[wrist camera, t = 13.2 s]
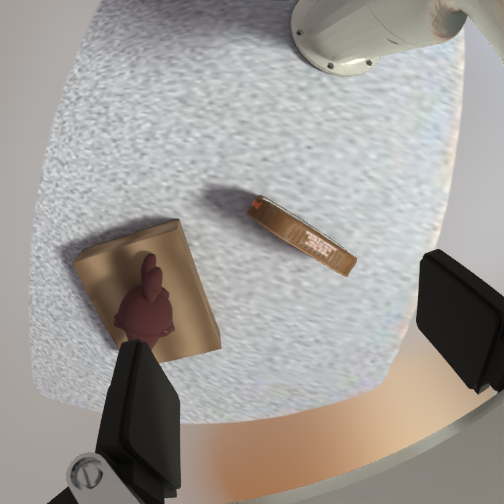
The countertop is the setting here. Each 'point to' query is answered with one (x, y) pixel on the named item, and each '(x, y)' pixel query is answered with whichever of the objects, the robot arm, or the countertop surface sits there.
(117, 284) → the base
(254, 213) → the tin
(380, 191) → the countertop surface
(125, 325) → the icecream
